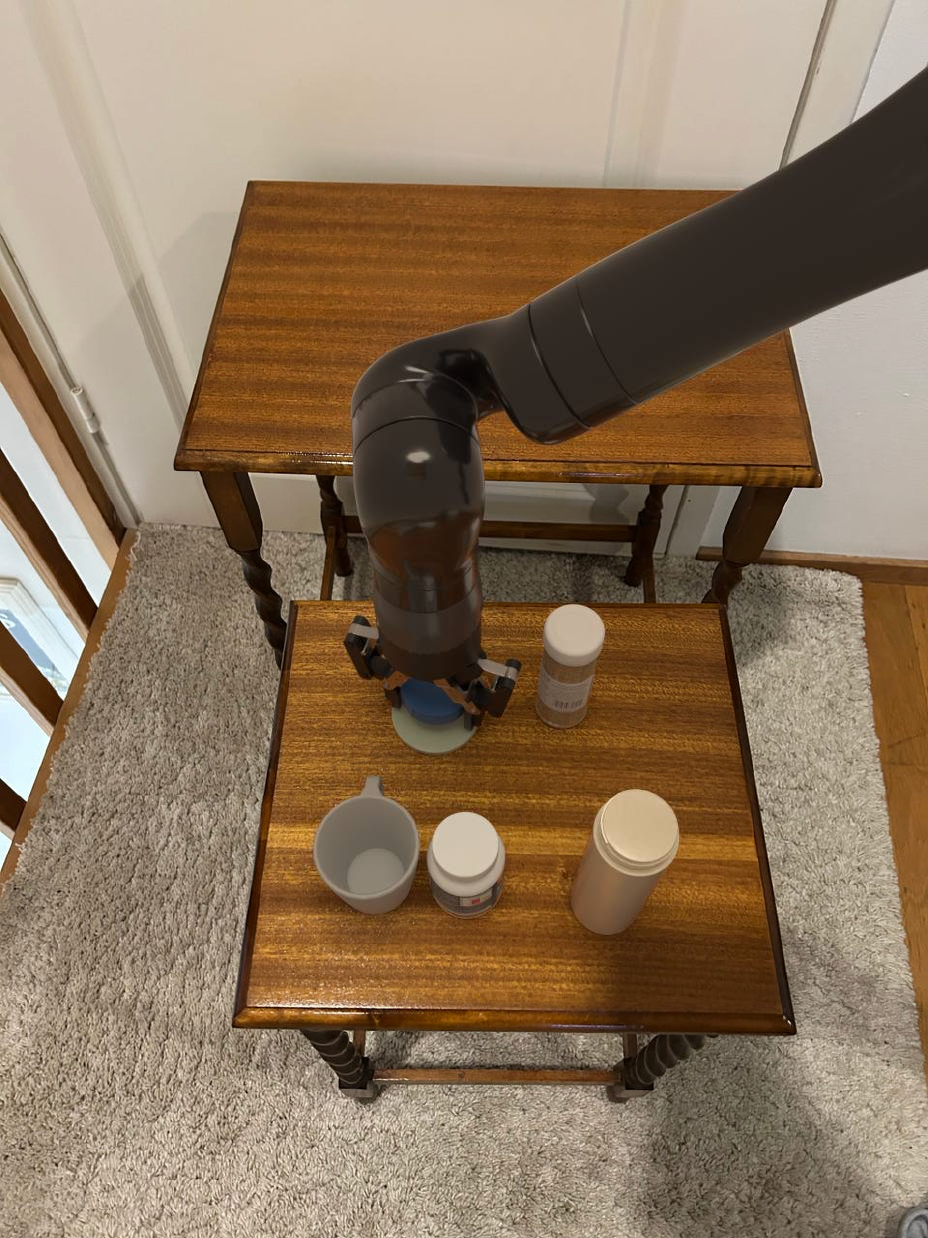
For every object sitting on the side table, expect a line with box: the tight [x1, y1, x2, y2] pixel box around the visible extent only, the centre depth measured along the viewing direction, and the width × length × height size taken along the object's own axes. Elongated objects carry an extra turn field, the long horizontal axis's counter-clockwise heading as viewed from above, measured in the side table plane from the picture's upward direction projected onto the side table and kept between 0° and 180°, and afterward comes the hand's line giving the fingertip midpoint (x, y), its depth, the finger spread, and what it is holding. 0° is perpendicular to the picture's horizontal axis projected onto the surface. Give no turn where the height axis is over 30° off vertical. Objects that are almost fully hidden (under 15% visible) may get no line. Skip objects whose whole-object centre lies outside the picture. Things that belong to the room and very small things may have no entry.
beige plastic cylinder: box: [569, 788, 680, 936], centre depth 65 cm, size 5×5×18 cm
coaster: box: [391, 703, 479, 756], centre depth 80 cm, size 8×8×1 cm
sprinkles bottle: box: [534, 603, 606, 730], centre depth 75 cm, size 5×5×14 cm
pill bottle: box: [426, 811, 506, 920], centre depth 69 cm, size 6×6×10 cm
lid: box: [400, 678, 465, 726], centre depth 77 cm, size 6×6×2 cm
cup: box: [312, 775, 421, 916], centre depth 70 cm, size 8×10×8 cm
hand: (435, 709), depth 80 cm, fingers closed on lid, 6 cm apart
